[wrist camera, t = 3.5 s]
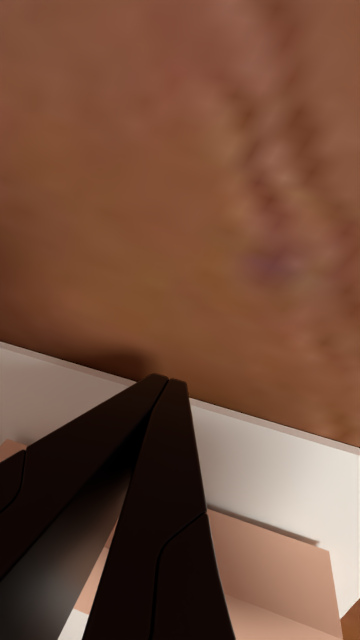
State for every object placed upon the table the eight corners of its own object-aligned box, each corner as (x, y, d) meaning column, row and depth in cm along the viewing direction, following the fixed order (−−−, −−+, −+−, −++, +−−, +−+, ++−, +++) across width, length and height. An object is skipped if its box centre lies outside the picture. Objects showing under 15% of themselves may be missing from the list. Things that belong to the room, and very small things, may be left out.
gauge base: (455, 476, 9) (533, 604, 6) (217, 747, 23) (211, 819, 20) (-112, 308, 11) (-220, 347, 9) (-7, 643, 26) (-38, 694, 23)
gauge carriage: (329, 551, 10) (343, 639, 8) (282, 617, 13) (284, 698, 11) (-60, 415, 12) (-119, 460, 11) (-38, 493, 15) (-84, 541, 13)
